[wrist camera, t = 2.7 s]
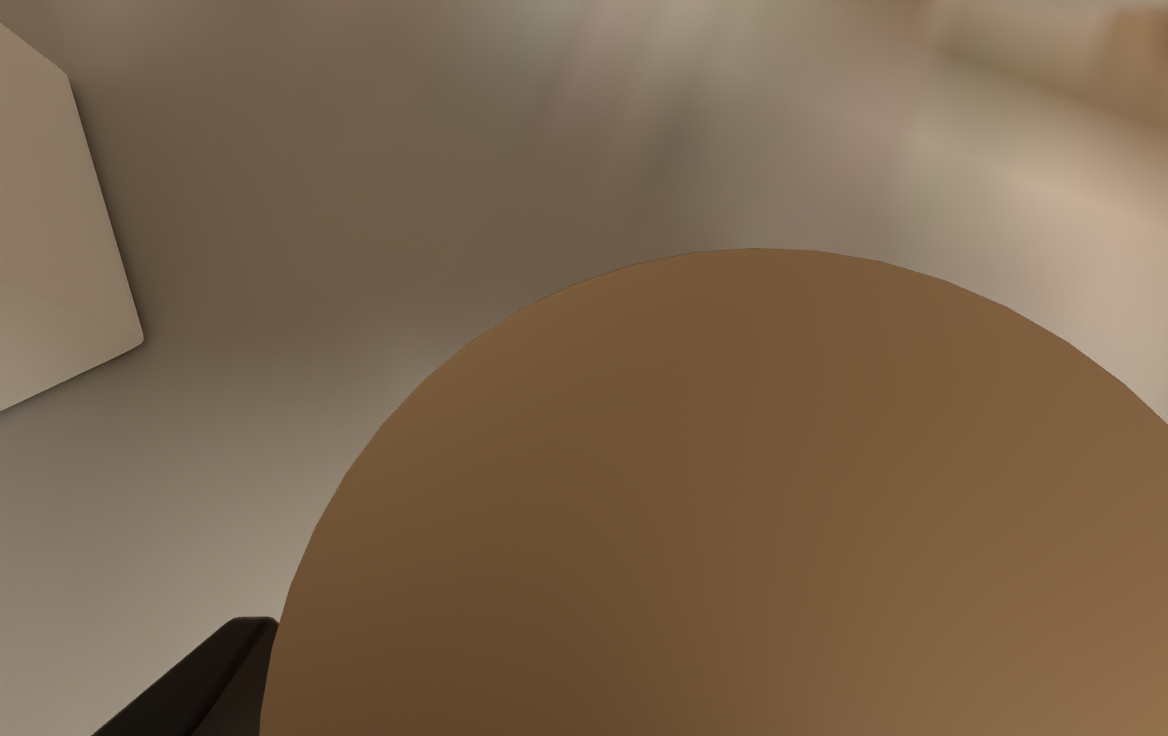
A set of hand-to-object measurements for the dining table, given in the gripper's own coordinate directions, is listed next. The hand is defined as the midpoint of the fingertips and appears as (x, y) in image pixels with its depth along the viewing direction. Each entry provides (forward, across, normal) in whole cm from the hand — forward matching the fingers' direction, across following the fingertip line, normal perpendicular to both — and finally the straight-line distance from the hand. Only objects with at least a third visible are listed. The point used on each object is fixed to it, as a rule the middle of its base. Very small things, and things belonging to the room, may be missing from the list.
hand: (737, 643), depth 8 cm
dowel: (+6, 0, +6) cm, 8 cm away
